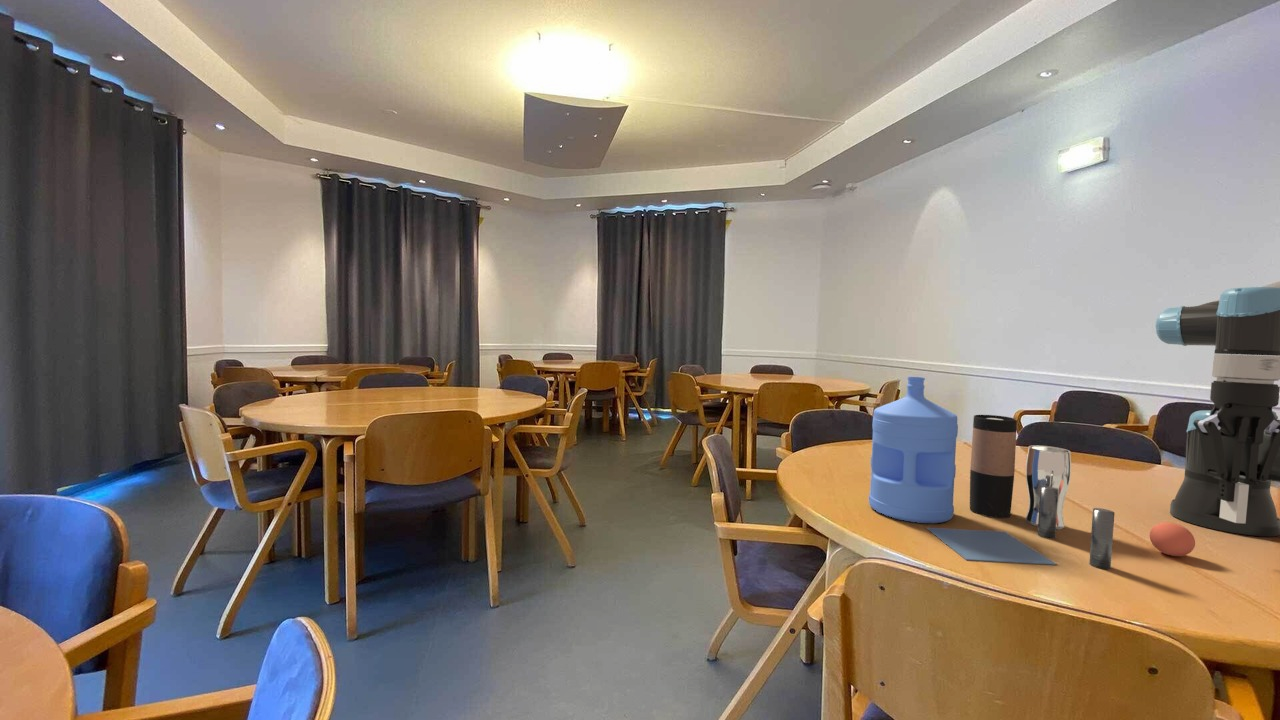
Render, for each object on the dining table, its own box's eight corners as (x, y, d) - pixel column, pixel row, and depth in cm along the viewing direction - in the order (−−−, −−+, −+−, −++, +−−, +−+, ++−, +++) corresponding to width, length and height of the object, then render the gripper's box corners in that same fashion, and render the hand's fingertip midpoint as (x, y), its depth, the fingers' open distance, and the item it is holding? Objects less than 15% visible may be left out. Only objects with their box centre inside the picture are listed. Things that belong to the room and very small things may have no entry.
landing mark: (1004, 532, 99) (1004, 531, 99) (1057, 565, 85) (1057, 563, 85) (926, 528, 100) (926, 527, 100) (966, 560, 86) (966, 559, 86)
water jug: (873, 495, 121) (879, 373, 119) (953, 508, 113) (960, 377, 111) (863, 514, 107) (869, 377, 106) (953, 531, 99) (961, 382, 98)
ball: (1173, 549, 93) (1175, 518, 92) (1203, 562, 87) (1206, 530, 87) (1139, 547, 93) (1141, 516, 93) (1168, 560, 88) (1170, 528, 87)
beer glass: (1023, 515, 109) (1028, 443, 108) (1067, 523, 105) (1072, 448, 104) (1021, 524, 104) (1025, 448, 103) (1067, 533, 99) (1072, 454, 98)
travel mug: (959, 507, 113) (964, 415, 112) (986, 505, 115) (991, 414, 114) (992, 520, 106) (998, 421, 105) (1021, 516, 108) (1026, 419, 107)
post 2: (1102, 562, 86) (1105, 508, 86) (1115, 569, 84) (1118, 513, 83) (1085, 561, 87) (1088, 507, 86) (1097, 568, 84) (1101, 513, 84)
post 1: (1048, 533, 99) (1051, 486, 98) (1058, 539, 96) (1061, 490, 96) (1034, 532, 99) (1037, 485, 99) (1043, 538, 97) (1046, 489, 96)
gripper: (1225, 381, 85) (1212, 525, 86) (1314, 384, 84) (1300, 531, 85) (1181, 377, 92) (1170, 510, 93) (1262, 380, 91) (1250, 515, 92)
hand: (1232, 520), depth 89 cm, fingers closed
